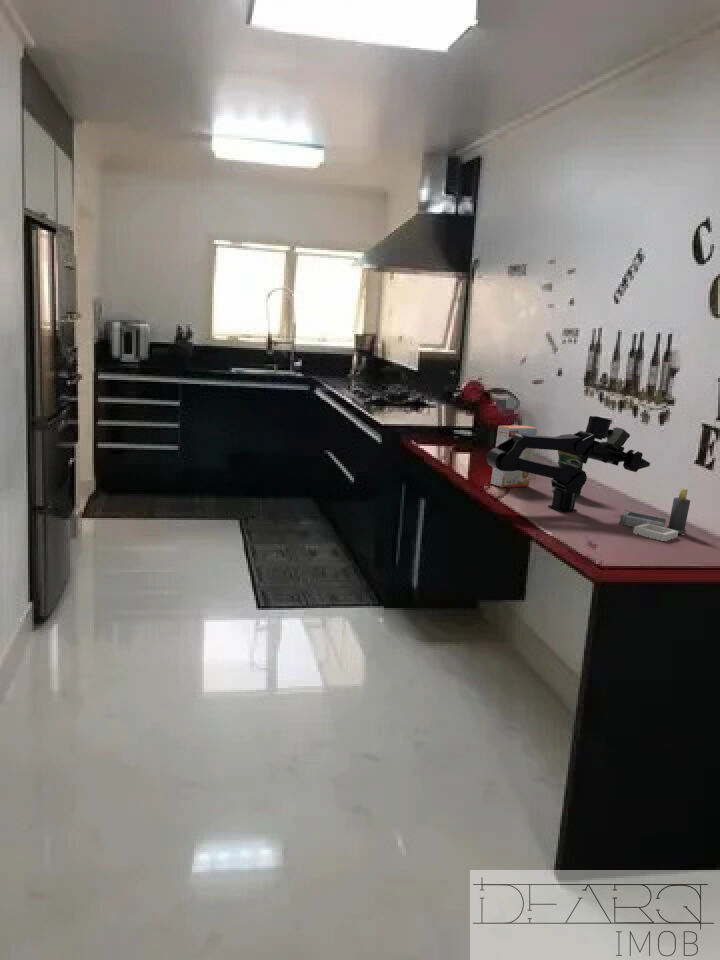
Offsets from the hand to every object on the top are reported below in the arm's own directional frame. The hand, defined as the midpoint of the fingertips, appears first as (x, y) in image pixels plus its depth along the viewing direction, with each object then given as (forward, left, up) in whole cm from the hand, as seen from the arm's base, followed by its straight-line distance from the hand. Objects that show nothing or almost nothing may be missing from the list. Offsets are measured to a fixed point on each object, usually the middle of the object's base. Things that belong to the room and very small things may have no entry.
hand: (640, 461), depth 252 cm
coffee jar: (-5, +25, -17) cm, 30 cm away
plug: (-6, -23, -16) cm, 29 cm away
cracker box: (-20, +37, -17) cm, 45 cm away
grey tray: (-11, -15, -16) cm, 25 cm away
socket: (-17, -25, -16) cm, 34 cm away
